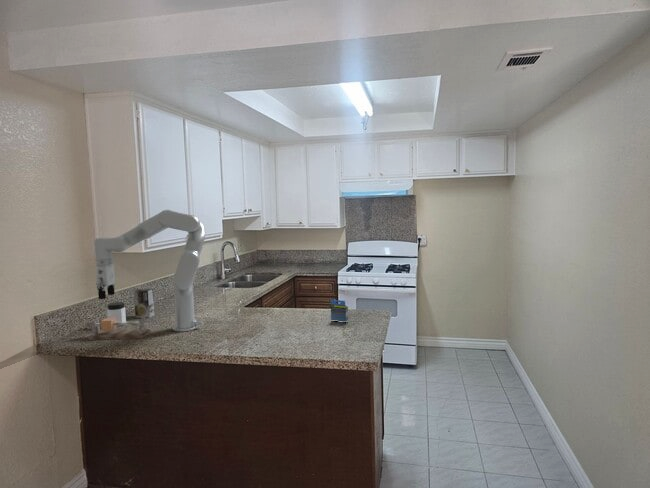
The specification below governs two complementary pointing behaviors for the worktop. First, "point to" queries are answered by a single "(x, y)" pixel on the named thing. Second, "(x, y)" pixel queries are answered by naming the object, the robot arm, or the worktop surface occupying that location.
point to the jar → (117, 311)
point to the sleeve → (108, 324)
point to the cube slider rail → (118, 333)
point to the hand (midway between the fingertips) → (106, 296)
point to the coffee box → (144, 303)
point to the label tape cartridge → (339, 310)
